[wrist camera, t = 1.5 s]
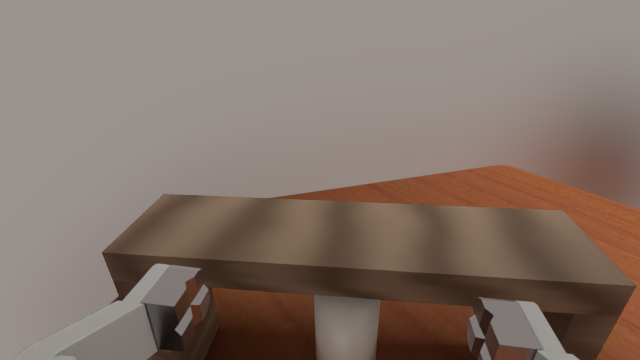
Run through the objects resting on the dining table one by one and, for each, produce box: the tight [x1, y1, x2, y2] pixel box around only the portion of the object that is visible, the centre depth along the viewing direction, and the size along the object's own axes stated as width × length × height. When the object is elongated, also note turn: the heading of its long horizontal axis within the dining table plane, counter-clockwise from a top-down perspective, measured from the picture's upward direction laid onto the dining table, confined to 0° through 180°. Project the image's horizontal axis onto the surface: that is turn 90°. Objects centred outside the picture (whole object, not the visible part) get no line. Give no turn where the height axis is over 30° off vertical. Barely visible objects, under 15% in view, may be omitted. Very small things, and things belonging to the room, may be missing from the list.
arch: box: [102, 194, 636, 360], centre depth 28 cm, size 33×8×16 cm, turn 84°
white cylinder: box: [314, 295, 380, 360], centre depth 30 cm, size 5×5×11 cm
